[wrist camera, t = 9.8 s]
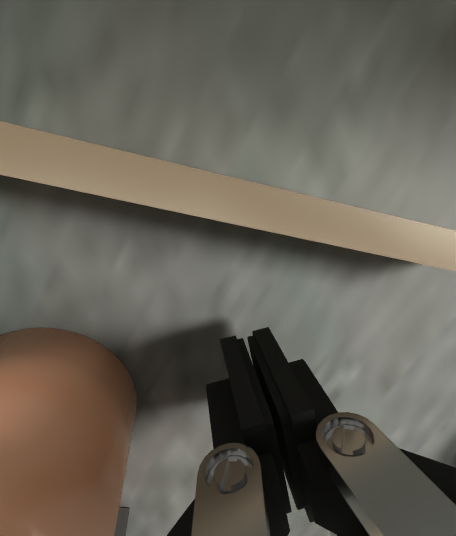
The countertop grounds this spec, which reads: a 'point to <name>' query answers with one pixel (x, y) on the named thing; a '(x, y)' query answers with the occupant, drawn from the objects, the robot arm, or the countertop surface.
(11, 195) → the countertop surface
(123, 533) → the grey long bar
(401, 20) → the countertop surface
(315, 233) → the lane
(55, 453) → the orange rounded block
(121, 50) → the countertop surface
